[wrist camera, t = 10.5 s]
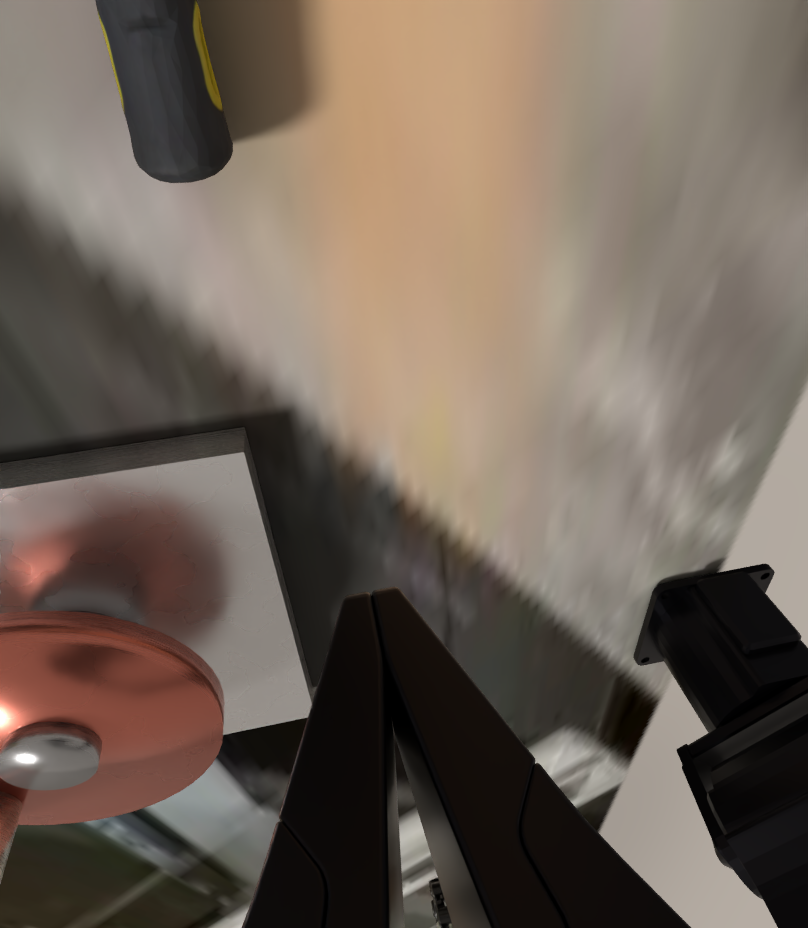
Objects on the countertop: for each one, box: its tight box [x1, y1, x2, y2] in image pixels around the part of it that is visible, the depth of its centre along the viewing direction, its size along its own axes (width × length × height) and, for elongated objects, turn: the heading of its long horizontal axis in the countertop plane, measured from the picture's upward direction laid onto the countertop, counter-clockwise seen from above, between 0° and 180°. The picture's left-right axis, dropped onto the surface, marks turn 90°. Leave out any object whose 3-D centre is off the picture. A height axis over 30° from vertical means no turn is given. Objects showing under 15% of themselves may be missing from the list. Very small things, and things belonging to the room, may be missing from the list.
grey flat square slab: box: [0, 427, 314, 735], centre depth 23 cm, size 16×16×4 cm
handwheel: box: [0, 611, 225, 883], centre depth 19 cm, size 11×11×5 cm
